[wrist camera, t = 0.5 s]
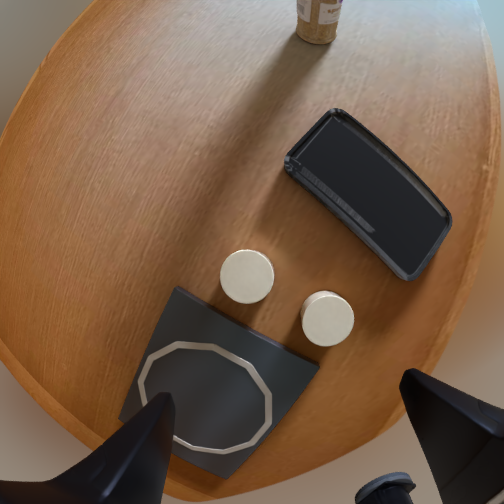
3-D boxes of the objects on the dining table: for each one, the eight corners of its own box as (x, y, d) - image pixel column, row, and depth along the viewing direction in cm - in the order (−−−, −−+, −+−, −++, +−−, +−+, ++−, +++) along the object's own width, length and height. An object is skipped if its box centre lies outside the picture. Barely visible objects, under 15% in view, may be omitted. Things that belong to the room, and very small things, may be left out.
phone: (334, 103, 20) (456, 219, 19) (333, 109, 21) (449, 220, 20) (277, 163, 21) (410, 287, 20) (277, 168, 22) (405, 286, 21)
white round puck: (355, 304, 21) (363, 310, 19) (331, 344, 22) (336, 354, 19) (315, 282, 22) (319, 286, 19) (291, 323, 22) (292, 332, 20)
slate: (318, 362, 22) (320, 367, 21) (228, 474, 23) (226, 480, 22) (178, 285, 23) (173, 287, 22) (122, 414, 24) (117, 419, 23)
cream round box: (283, 264, 22) (283, 266, 20) (259, 306, 22) (257, 313, 20) (240, 241, 22) (235, 240, 20) (218, 283, 23) (210, 287, 20)
